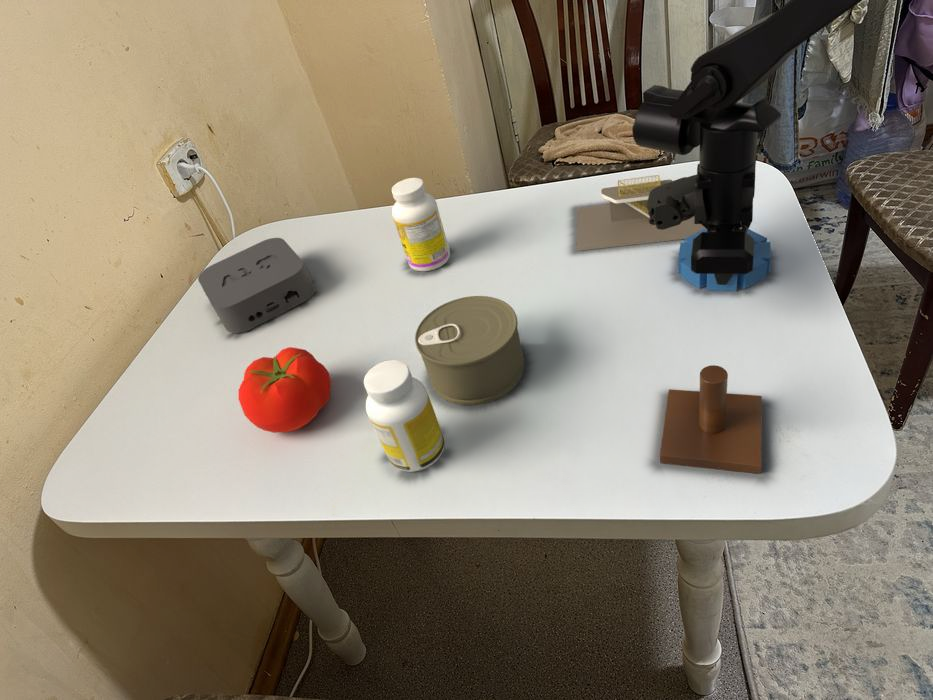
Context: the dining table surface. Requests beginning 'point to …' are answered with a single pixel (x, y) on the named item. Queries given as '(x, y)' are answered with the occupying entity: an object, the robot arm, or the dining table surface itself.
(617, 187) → the platform
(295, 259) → the streaming box
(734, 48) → the robot arm
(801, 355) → the dining table surface
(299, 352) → the tomato
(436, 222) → the supplement bottle
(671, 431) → the peg stand
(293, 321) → the dining table surface
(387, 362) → the pill bottle
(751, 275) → the blue ring
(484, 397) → the can
